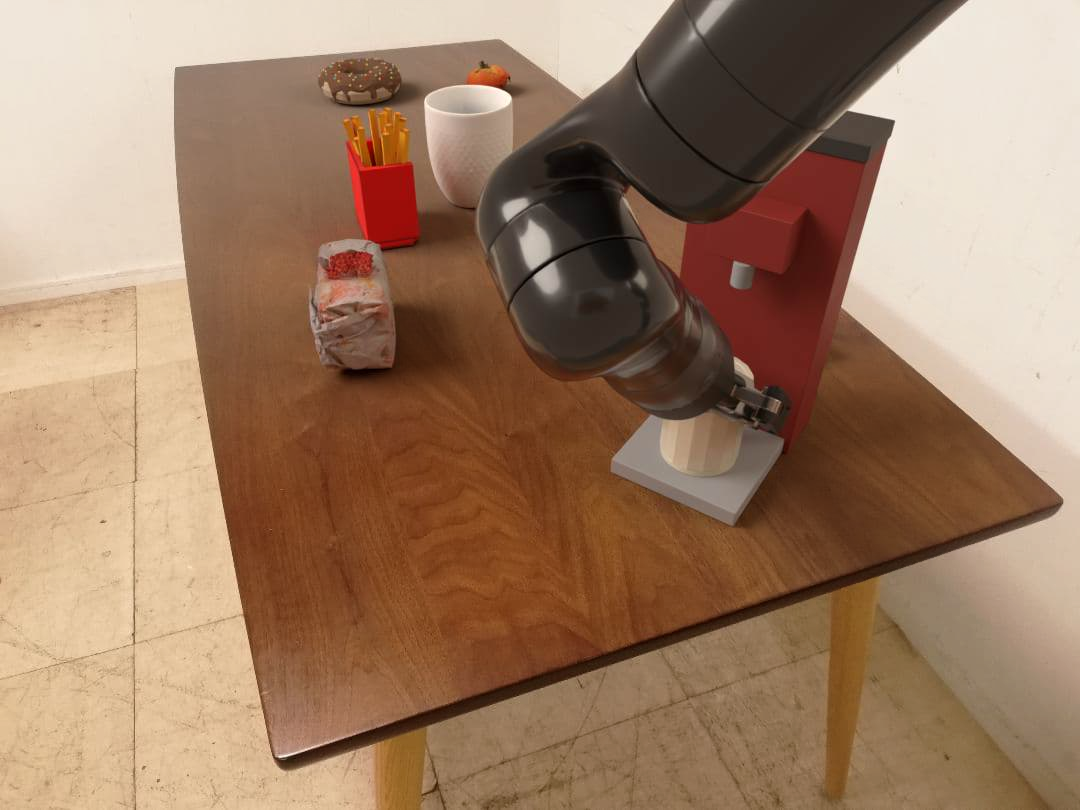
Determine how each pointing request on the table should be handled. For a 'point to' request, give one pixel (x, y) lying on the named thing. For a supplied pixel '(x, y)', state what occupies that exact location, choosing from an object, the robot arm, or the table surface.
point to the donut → (360, 81)
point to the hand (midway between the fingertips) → (713, 399)
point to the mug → (467, 138)
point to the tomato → (488, 76)
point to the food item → (353, 307)
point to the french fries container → (383, 179)
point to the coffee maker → (773, 301)
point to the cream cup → (703, 440)
